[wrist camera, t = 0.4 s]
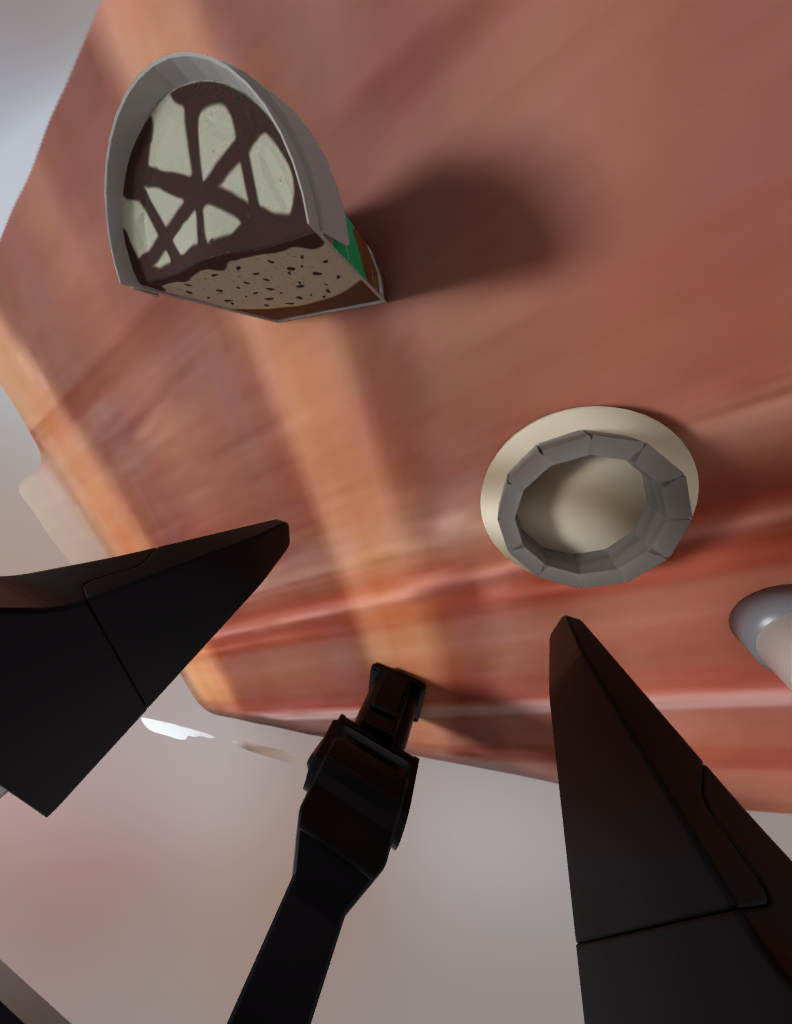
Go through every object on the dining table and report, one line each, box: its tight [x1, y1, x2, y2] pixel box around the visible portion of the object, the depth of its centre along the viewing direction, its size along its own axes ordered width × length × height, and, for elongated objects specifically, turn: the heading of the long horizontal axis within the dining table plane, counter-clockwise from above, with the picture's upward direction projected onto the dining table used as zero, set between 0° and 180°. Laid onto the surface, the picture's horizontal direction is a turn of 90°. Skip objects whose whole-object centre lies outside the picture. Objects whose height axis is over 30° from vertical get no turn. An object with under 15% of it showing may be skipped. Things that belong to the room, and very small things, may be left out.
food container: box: [104, 51, 387, 323], centre depth 15 cm, size 12×6×10 cm, turn 93°
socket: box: [481, 406, 699, 588], centre depth 18 cm, size 12×12×4 cm
